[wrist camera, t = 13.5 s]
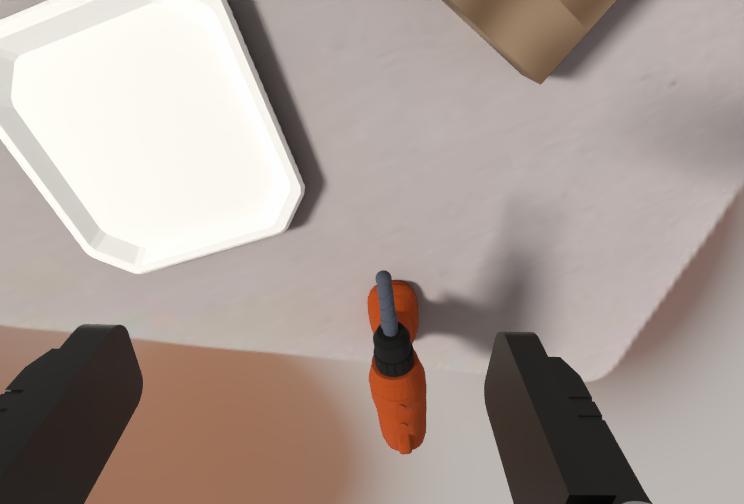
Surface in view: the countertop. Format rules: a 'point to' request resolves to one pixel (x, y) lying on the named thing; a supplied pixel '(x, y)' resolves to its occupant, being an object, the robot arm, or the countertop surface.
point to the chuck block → (531, 29)
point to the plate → (145, 128)
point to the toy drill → (396, 364)
